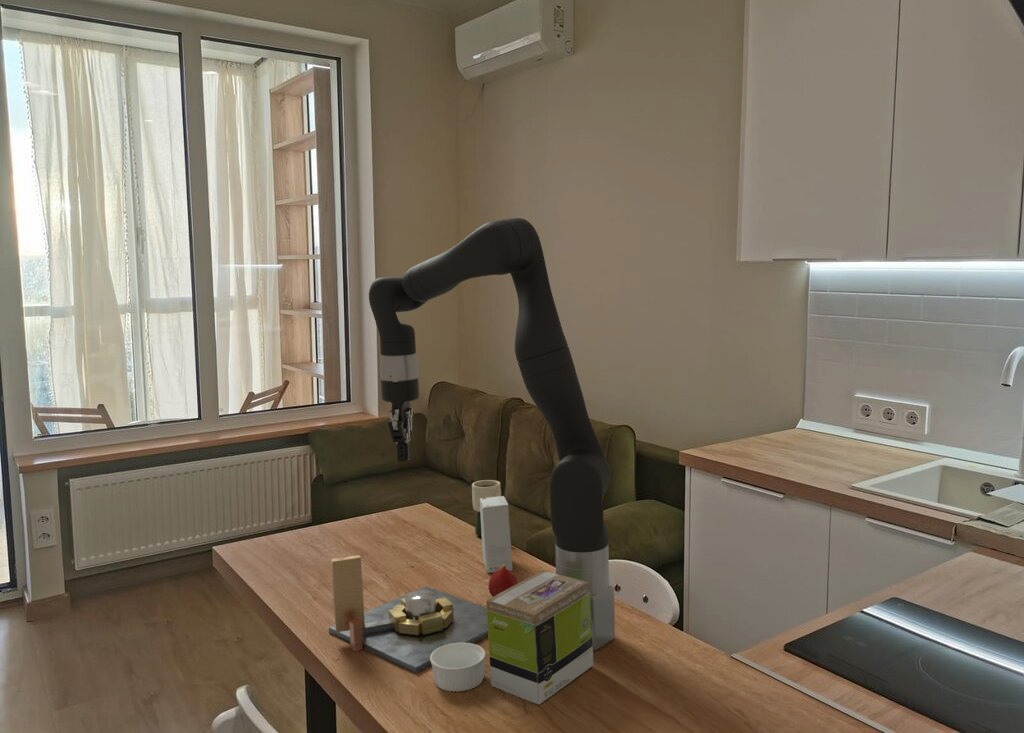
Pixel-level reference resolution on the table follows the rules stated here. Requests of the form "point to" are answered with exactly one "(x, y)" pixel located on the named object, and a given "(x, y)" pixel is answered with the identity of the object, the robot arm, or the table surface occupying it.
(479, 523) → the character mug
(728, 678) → the table surface
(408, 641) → the hub base
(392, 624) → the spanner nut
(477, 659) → the ramekin
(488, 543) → the skincare box
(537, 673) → the tea box
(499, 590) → the onion
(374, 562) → the table surface
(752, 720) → the table surface
